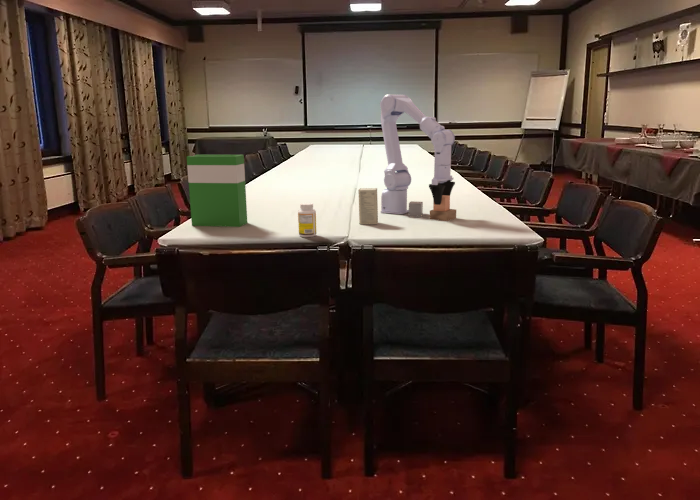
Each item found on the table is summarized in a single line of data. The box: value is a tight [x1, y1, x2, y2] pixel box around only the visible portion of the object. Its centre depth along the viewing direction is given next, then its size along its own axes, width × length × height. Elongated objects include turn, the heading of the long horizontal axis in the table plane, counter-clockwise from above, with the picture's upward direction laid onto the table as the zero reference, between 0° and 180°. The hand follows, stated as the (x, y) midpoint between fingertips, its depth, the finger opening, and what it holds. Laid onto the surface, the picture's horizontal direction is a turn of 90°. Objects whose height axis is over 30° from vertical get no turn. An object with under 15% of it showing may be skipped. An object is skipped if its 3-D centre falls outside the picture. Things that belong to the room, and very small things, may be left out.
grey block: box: [408, 200, 424, 218], centre depth 214 cm, size 4×4×5 cm
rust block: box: [432, 195, 451, 211], centre depth 207 cm, size 4×4×5 cm
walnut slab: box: [429, 208, 457, 222], centre depth 208 cm, size 7×7×4 cm
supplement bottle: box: [297, 202, 317, 238], centre depth 180 cm, size 6×6×10 cm
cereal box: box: [186, 154, 248, 228], centre depth 200 cm, size 18×7×24 cm, turn 79°
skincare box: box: [358, 187, 379, 225], centre depth 199 cm, size 6×4×12 cm
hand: (441, 203), depth 206 cm, fingers open, 7 cm apart
